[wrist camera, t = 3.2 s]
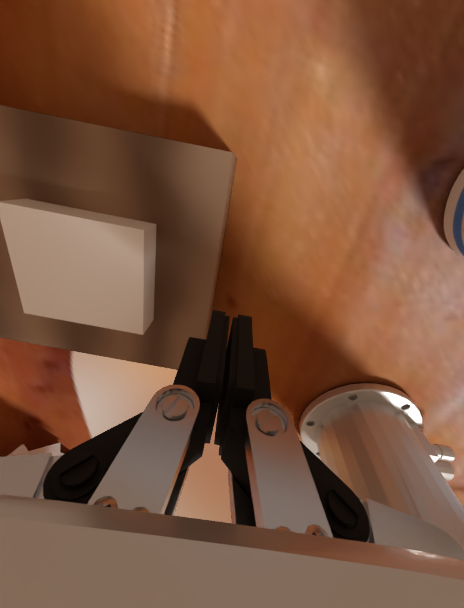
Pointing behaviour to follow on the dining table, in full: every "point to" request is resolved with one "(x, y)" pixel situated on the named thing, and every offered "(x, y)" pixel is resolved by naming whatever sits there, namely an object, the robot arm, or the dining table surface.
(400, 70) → the dining table surface
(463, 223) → the supplement tub
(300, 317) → the dining table surface
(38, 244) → the tile
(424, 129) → the dining table surface
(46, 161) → the board
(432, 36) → the dining table surface
